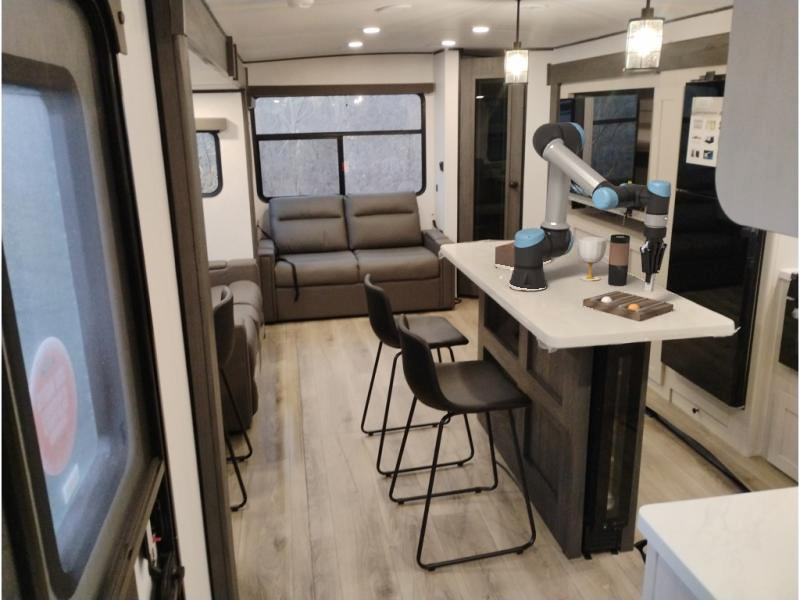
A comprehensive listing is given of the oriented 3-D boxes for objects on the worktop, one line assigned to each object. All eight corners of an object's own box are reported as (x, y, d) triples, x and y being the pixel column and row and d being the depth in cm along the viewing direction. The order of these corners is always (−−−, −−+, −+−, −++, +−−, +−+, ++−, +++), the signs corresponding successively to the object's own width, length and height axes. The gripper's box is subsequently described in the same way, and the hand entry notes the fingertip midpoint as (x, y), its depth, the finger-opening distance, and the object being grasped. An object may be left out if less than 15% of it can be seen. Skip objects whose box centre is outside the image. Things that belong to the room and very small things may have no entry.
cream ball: (599, 295, 235) (606, 295, 237) (597, 306, 236) (605, 306, 238) (608, 297, 232) (615, 297, 234) (606, 308, 233) (614, 308, 235)
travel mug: (628, 282, 268) (632, 235, 262) (624, 287, 261) (628, 238, 256) (609, 281, 271) (612, 233, 266) (605, 285, 265) (608, 236, 260)
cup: (574, 281, 273) (576, 241, 268) (576, 274, 283) (578, 236, 279) (603, 282, 269) (606, 242, 264) (604, 276, 280) (607, 237, 275)
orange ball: (625, 303, 225) (632, 301, 227) (625, 314, 226) (632, 312, 228) (635, 306, 222) (642, 304, 224) (634, 317, 223) (642, 315, 225)
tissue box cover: (521, 272, 291) (522, 250, 288) (495, 268, 300) (495, 247, 298) (551, 262, 309) (552, 241, 306) (525, 258, 318) (526, 238, 316)
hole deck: (582, 306, 238) (583, 298, 237) (615, 297, 248) (616, 289, 247) (639, 321, 219) (640, 312, 218) (672, 311, 229) (673, 302, 228)
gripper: (653, 229, 220) (646, 296, 227) (676, 225, 227) (669, 290, 234) (634, 226, 226) (628, 291, 233) (657, 222, 233) (650, 285, 240)
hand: (649, 290), depth 233 cm, fingers closed
